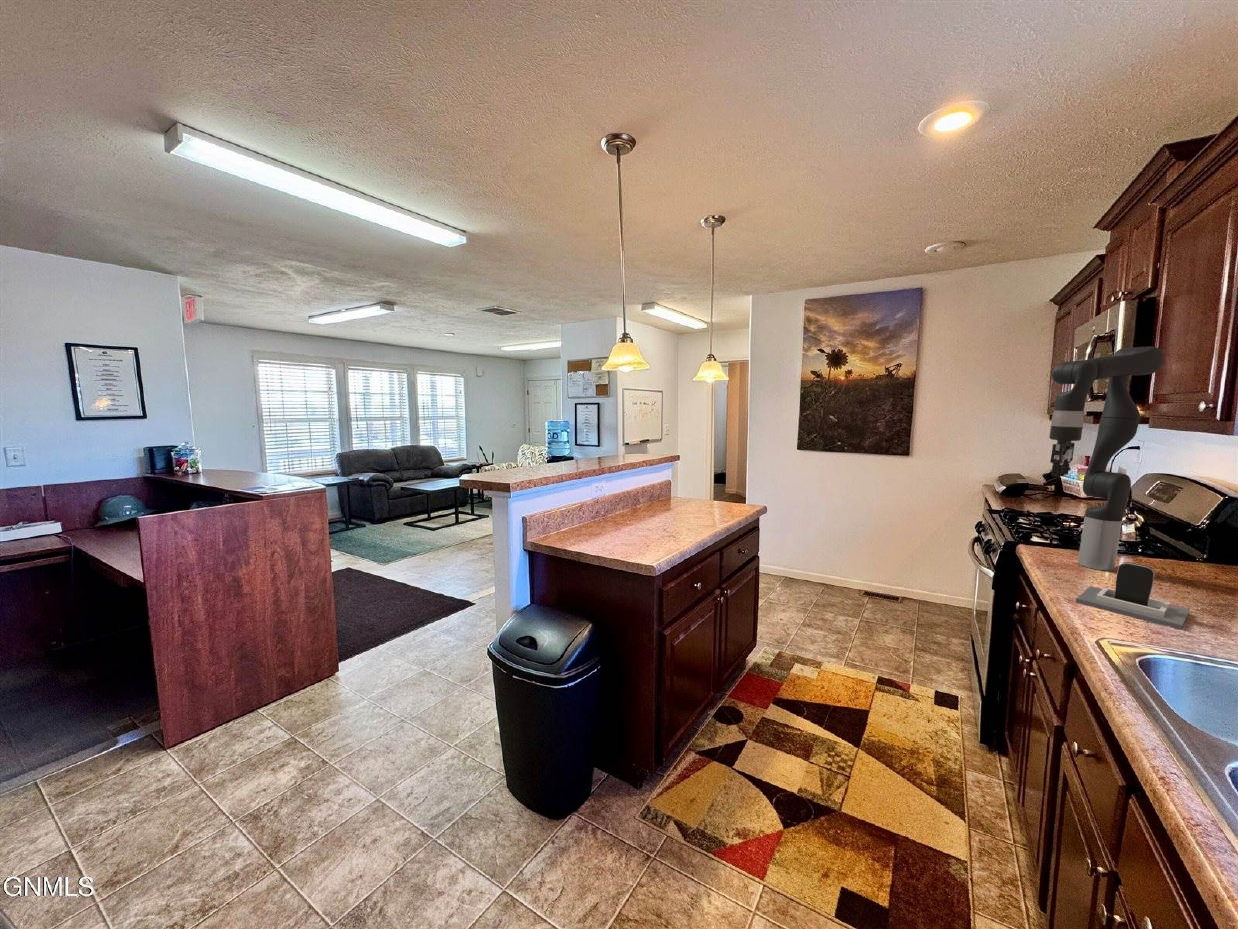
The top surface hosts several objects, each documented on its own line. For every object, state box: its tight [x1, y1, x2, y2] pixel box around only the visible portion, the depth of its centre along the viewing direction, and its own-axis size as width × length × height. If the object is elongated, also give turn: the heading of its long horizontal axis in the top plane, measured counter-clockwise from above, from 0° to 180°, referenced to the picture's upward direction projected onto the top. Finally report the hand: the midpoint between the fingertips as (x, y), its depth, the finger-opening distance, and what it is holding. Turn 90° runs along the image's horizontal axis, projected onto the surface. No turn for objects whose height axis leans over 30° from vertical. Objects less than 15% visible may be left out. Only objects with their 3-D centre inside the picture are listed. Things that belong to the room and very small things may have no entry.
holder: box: [1075, 585, 1191, 630], centre depth 136 cm, size 16×20×3 cm
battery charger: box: [1114, 561, 1155, 607], centre depth 135 cm, size 7×4×11 cm, turn 37°
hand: (1059, 475), depth 158 cm, fingers open, 8 cm apart
